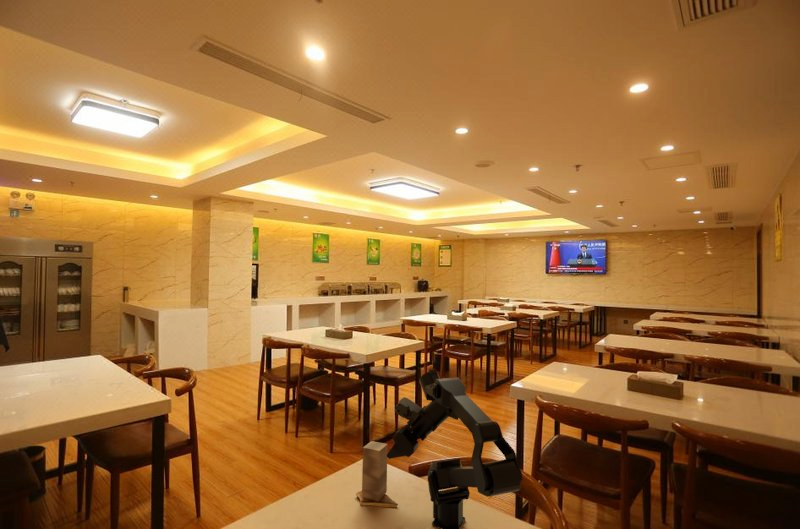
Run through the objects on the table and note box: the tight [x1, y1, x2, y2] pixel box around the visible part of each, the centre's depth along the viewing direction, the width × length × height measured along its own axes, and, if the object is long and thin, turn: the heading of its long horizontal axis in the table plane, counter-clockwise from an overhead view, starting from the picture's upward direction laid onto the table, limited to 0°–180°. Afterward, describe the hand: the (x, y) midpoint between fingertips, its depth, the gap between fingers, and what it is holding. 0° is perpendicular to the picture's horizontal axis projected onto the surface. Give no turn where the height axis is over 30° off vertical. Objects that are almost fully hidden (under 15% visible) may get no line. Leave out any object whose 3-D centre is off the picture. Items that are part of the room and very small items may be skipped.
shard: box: [355, 490, 399, 508], centre depth 105 cm, size 11×8×2 cm
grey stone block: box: [361, 440, 388, 501], centre depth 107 cm, size 5×5×13 cm
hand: (394, 449), depth 106 cm, fingers open, 9 cm apart
